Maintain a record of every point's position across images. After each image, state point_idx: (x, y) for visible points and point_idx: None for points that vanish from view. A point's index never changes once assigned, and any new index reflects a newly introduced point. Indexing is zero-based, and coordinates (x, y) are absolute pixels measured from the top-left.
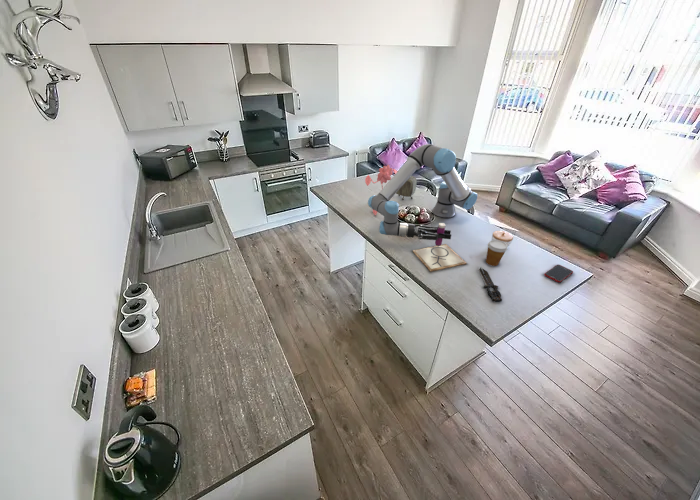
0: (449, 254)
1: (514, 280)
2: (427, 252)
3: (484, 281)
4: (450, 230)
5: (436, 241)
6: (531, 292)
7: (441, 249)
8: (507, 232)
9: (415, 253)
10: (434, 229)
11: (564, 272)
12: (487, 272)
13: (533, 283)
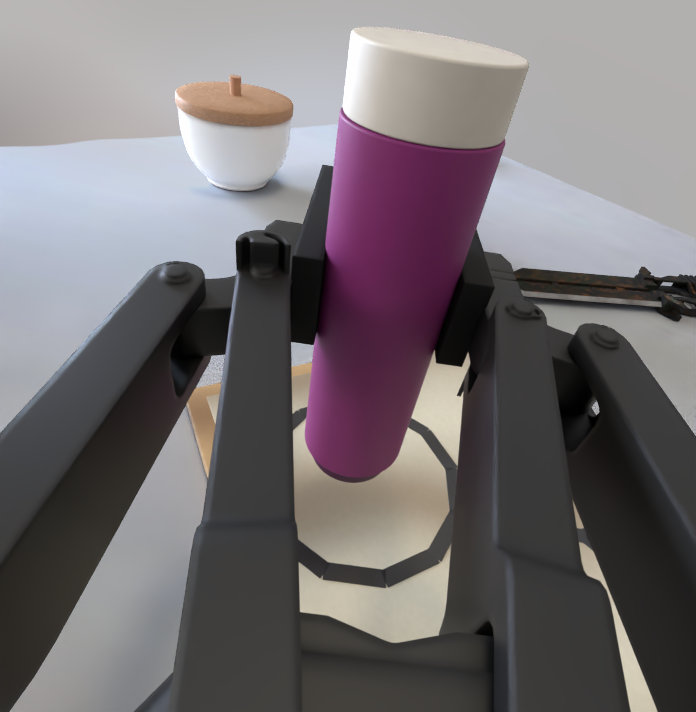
0: None
1: (525, 222)
2: None
3: (628, 301)
4: (322, 166)
5: (397, 436)
6: (578, 211)
7: (306, 450)
8: (204, 82)
9: None
10: (288, 320)
11: None
12: (531, 269)
13: (514, 192)
